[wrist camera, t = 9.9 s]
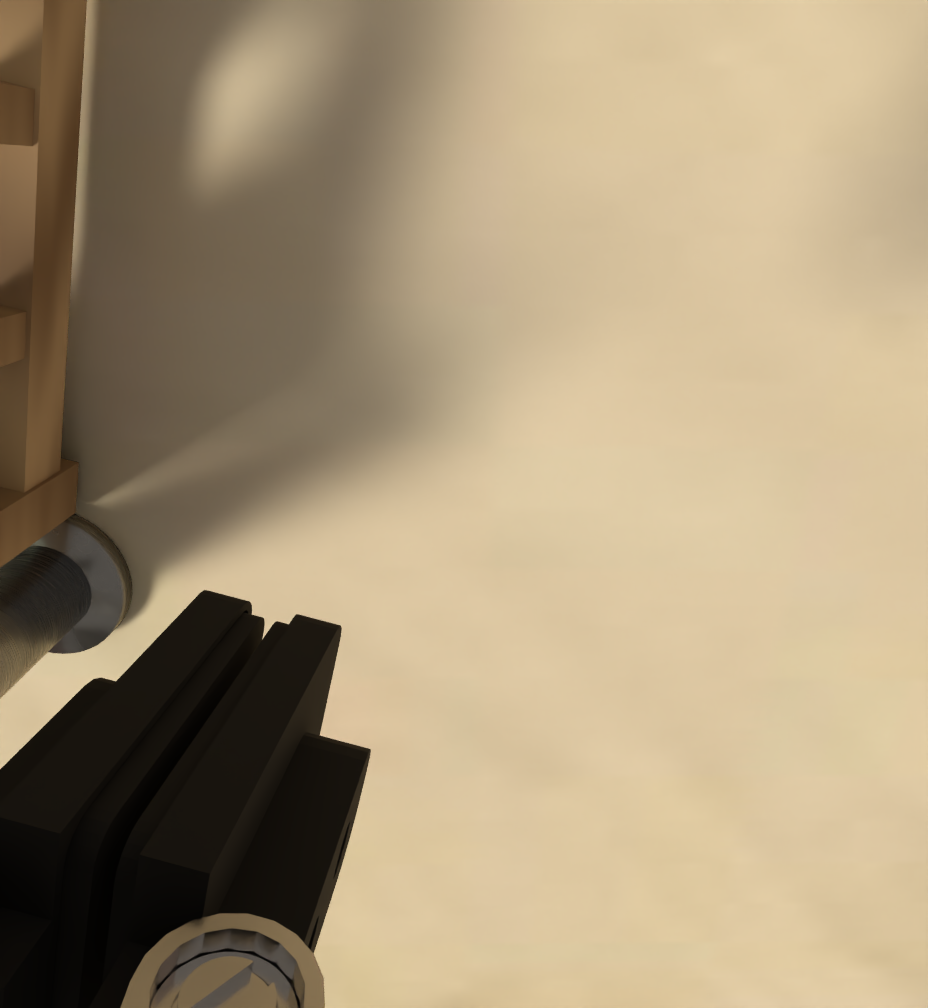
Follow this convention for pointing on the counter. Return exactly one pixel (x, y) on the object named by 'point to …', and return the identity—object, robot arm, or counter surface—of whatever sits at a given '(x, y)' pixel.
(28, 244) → the gate
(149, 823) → the robot arm
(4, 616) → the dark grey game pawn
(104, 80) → the counter surface
